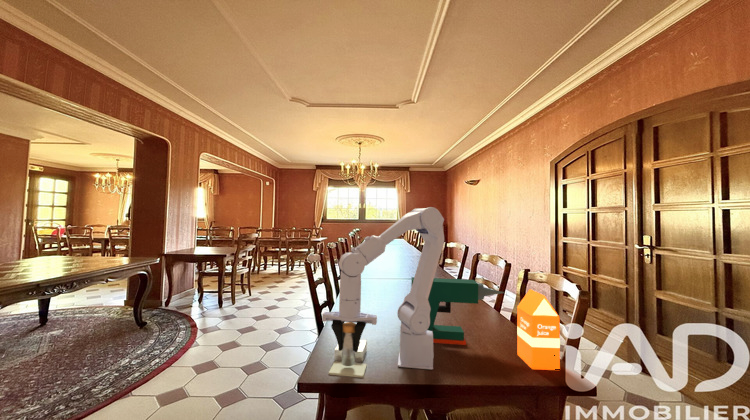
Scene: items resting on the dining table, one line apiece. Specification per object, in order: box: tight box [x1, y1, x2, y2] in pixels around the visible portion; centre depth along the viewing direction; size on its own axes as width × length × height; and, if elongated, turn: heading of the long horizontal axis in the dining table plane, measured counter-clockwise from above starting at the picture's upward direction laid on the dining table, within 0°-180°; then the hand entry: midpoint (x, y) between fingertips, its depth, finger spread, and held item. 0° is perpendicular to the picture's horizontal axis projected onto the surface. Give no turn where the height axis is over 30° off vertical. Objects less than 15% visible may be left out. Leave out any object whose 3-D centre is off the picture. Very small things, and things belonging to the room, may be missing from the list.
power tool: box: [411, 276, 506, 346], centre depth 98 cm, size 32×7×20 cm, turn 84°
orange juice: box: [516, 288, 561, 371], centre depth 83 cm, size 8×9×20 cm
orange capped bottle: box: [341, 322, 357, 366], centre depth 76 cm, size 4×4×10 cm
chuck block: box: [334, 339, 368, 364], centre depth 84 cm, size 8×8×3 cm
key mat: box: [328, 360, 368, 378], centre depth 76 cm, size 9×6×1 cm, turn 83°
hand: (348, 349), depth 76 cm, fingers closed on orange capped bottle, 4 cm apart
